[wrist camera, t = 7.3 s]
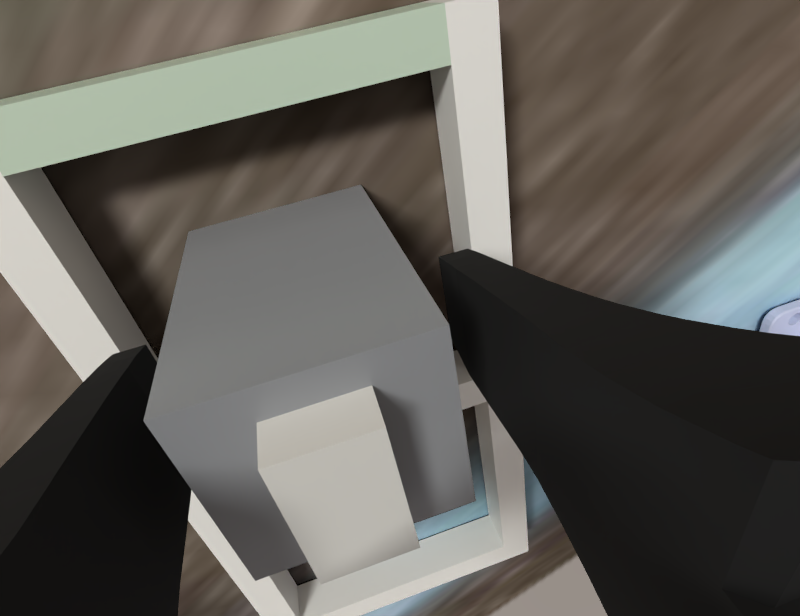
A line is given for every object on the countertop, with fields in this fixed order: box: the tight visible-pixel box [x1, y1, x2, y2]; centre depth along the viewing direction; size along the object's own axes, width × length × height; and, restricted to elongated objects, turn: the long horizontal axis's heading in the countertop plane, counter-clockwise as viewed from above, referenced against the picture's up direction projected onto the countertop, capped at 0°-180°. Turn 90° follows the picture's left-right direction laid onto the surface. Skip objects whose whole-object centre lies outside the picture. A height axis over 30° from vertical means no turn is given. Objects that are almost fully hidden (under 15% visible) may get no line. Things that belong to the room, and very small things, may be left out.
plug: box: [143, 185, 476, 584], centre depth 9 cm, size 4×4×7 cm
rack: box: [0, 0, 528, 616], centre depth 14 cm, size 10×19×1 cm, turn 11°
